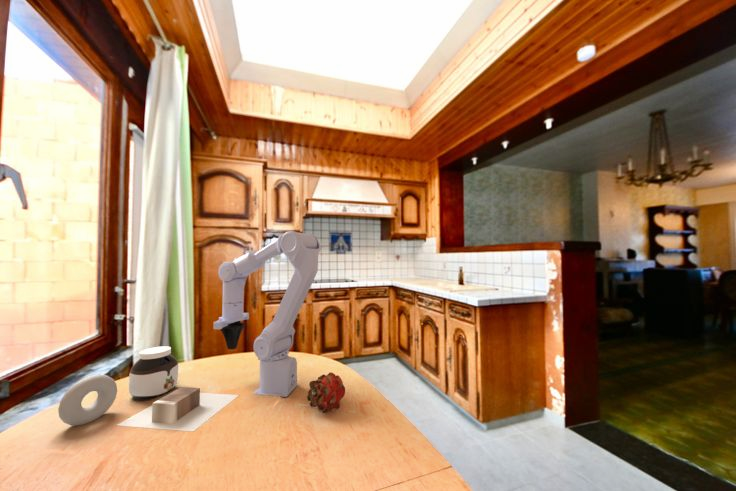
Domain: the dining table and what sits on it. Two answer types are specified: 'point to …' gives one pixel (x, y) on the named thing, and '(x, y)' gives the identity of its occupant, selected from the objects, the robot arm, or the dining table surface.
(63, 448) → the dining table surface
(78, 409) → the donut
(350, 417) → the dining table surface
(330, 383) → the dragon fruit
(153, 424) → the mat
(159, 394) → the spread jar
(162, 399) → the walnut block
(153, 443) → the dining table surface
